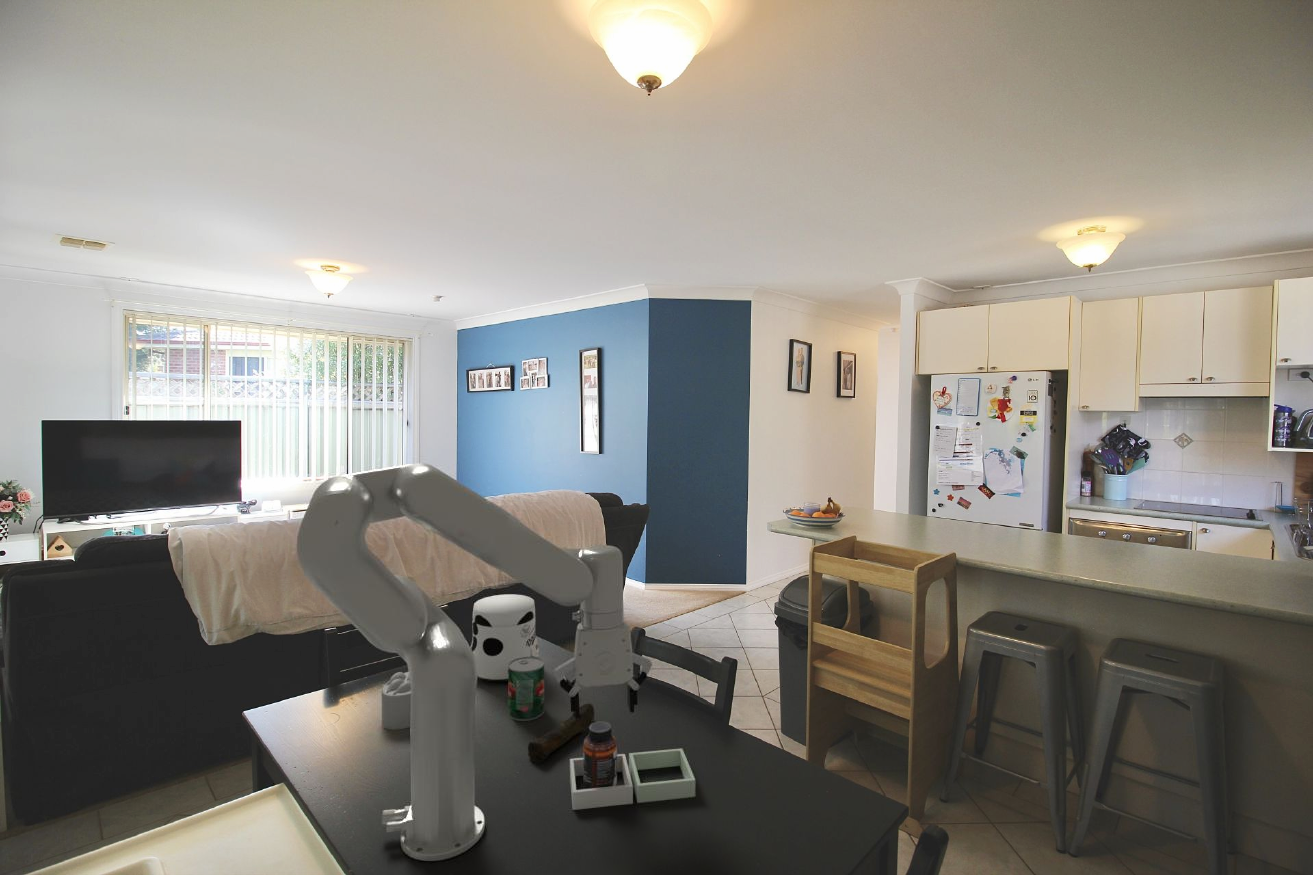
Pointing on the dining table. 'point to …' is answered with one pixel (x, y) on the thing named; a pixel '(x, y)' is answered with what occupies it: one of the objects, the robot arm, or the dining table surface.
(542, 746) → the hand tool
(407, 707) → the lumpy-topped squat cylinder
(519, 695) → the canned tomato
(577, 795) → the grey bin
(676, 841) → the dining table surface
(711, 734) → the dining table surface
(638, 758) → the sage bin
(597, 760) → the supplement bottle
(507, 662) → the milk container
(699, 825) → the dining table surface
